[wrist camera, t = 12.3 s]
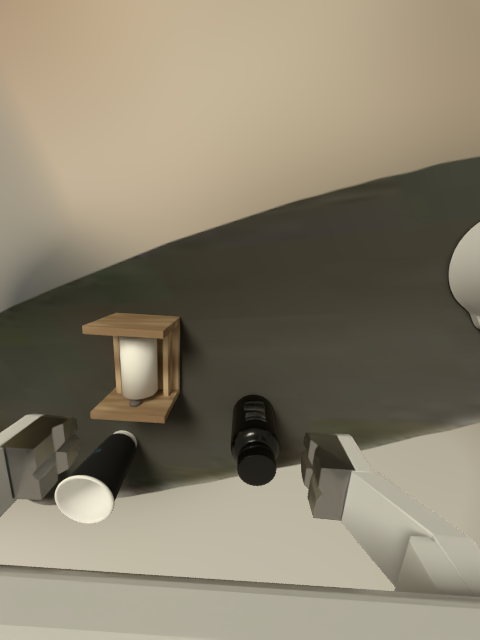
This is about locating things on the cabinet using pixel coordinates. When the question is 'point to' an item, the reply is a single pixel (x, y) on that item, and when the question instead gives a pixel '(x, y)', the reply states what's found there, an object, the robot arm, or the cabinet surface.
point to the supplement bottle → (254, 440)
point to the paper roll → (138, 367)
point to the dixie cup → (97, 480)
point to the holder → (167, 363)
